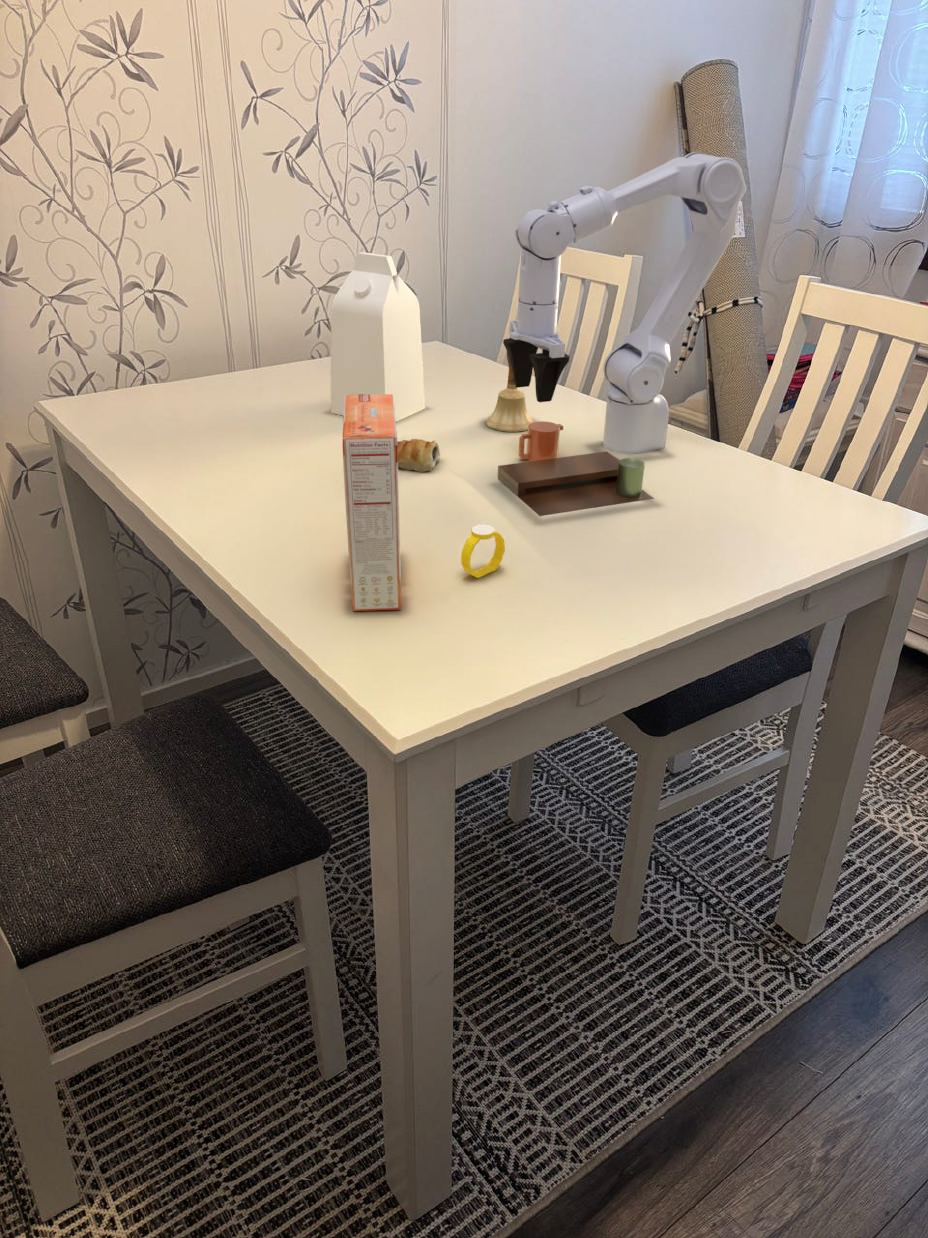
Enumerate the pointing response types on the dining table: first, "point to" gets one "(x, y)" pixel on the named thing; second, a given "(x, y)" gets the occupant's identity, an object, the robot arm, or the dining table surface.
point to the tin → (630, 477)
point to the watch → (476, 535)
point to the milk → (376, 337)
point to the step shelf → (566, 483)
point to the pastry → (417, 454)
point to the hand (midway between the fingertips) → (532, 393)
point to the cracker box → (372, 501)
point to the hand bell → (510, 408)
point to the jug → (540, 441)
